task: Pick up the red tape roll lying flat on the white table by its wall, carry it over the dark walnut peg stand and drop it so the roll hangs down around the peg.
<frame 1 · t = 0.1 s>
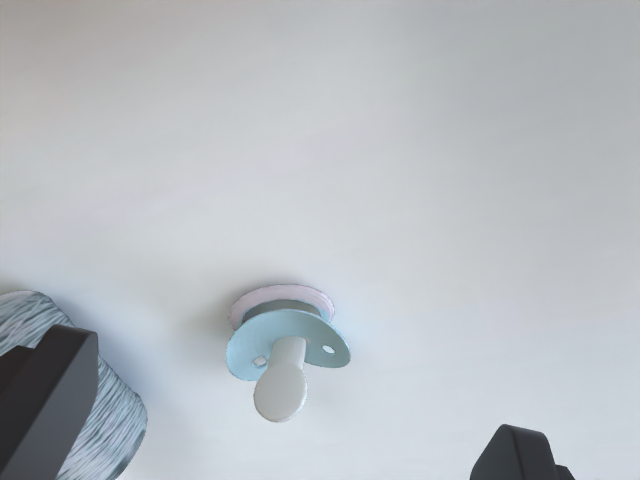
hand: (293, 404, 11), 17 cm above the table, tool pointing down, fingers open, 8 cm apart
pacifier: (287, 317, 33), on the table
spool: (76, 350, 36), on the table
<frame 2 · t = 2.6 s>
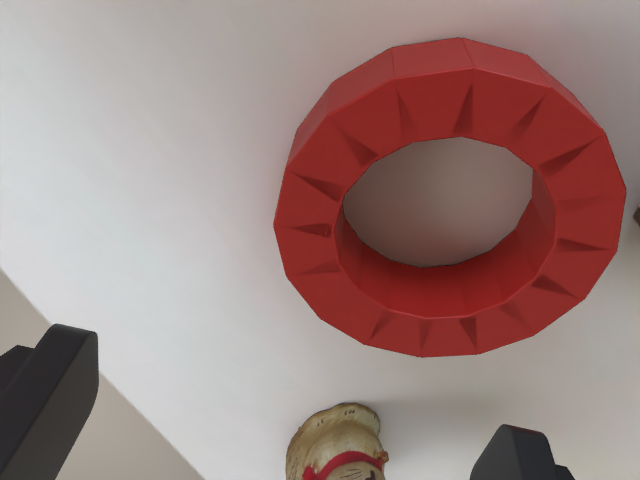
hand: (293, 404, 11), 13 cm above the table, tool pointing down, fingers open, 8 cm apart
tape roll: (434, 191, 22), on the table
chocolate bunny: (335, 434, 32), on the table
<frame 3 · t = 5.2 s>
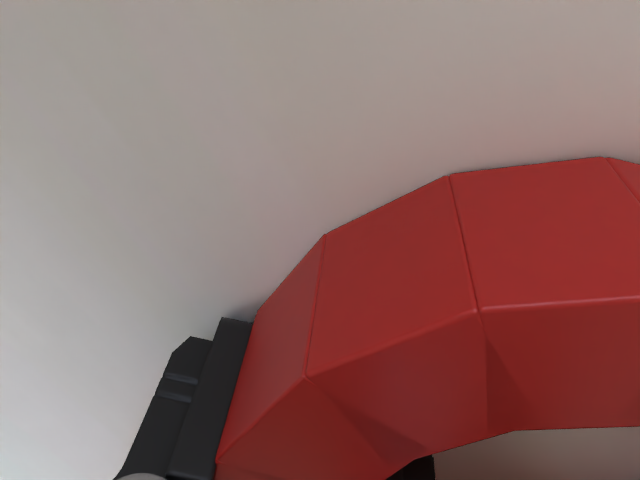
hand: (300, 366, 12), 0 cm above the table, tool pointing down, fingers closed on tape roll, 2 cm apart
tape roll: (518, 411, 12), on the table, touching gripper
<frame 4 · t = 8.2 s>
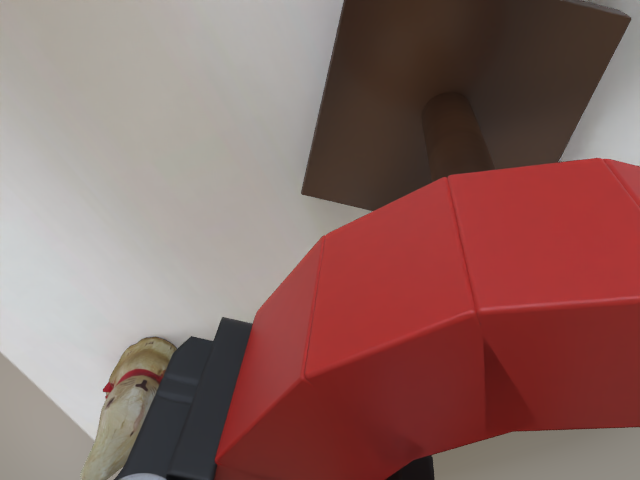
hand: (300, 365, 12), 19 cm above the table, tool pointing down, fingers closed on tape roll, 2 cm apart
peg stand: (444, 105, 27), on the table
tape roll: (516, 411, 12), point 19 cm above the table, touching gripper
chocolate bunny: (151, 365, 40), on the table
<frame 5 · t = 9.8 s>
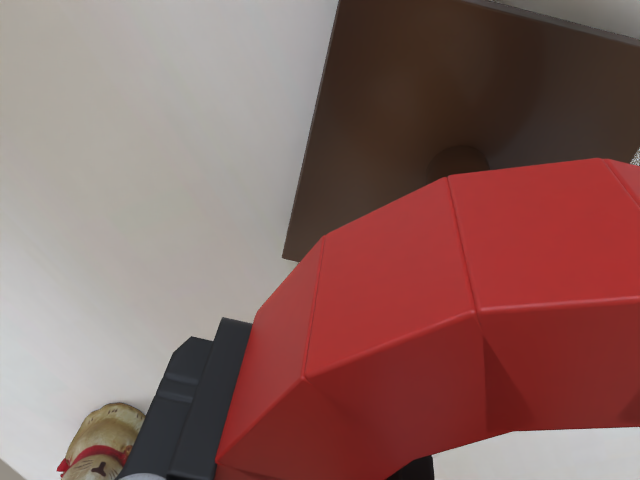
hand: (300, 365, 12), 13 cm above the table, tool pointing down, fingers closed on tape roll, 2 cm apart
peg stand: (453, 157, 23), on the table
tape roll: (517, 411, 12), point 13 cm above the table, touching gripper
chocolate bunny: (117, 431, 36), on the table
when the fingers open (9 cm above the table, at t = 11.3 s): tape roll drops 7 cm, resting on peg stand.
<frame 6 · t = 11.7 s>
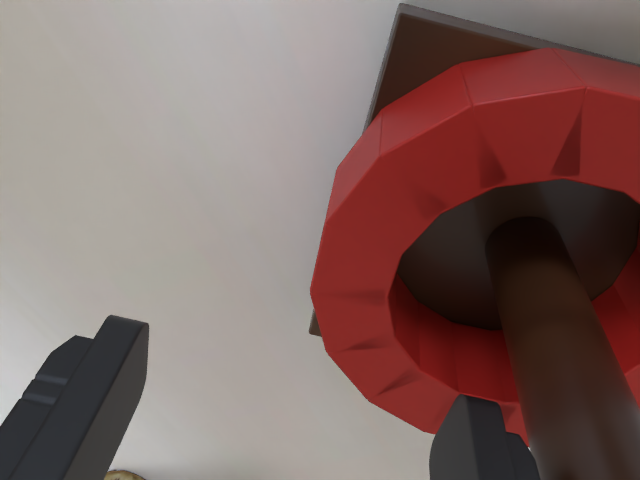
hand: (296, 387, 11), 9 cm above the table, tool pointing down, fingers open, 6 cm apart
peg stand: (515, 224, 19), on the table
tape roll: (509, 240, 18), point 1 cm above the table, touching peg stand
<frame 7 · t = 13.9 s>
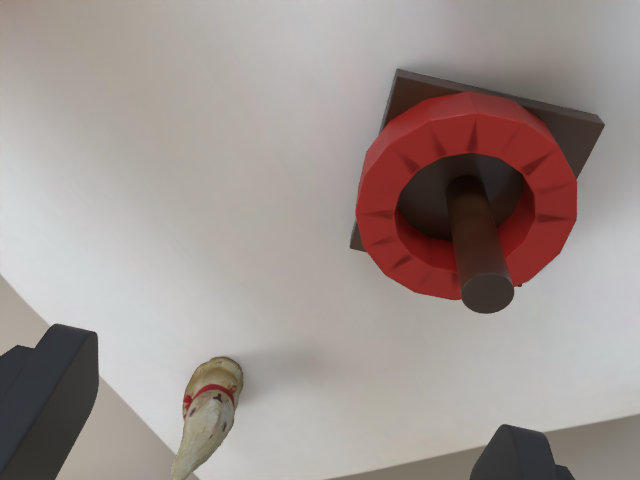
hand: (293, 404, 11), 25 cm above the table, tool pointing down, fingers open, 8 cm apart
peg stand: (462, 181, 35), on the table
tape roll: (457, 188, 34), point 1 cm above the table, touching peg stand
chocolate bunny: (217, 380, 49), on the table
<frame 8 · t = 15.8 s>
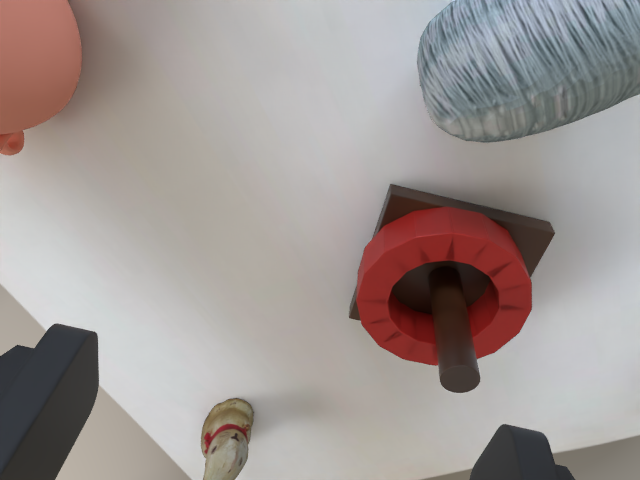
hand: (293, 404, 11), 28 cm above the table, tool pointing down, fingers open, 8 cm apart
peg stand: (442, 267, 43), on the table
sugar bowl: (9, 34, 36), on the table
tape roll: (438, 275, 42), point 1 cm above the table, touching peg stand
chocolate bunny: (230, 417, 56), on the table
spool: (527, 29, 33), on the table
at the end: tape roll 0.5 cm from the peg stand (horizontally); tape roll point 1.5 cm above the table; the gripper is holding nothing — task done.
